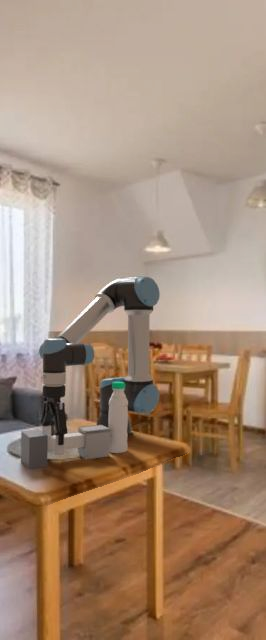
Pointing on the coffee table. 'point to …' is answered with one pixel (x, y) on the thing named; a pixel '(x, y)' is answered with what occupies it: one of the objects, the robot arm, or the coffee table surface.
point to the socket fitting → (34, 448)
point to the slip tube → (68, 441)
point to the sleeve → (95, 442)
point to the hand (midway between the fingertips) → (53, 449)
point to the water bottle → (118, 418)
